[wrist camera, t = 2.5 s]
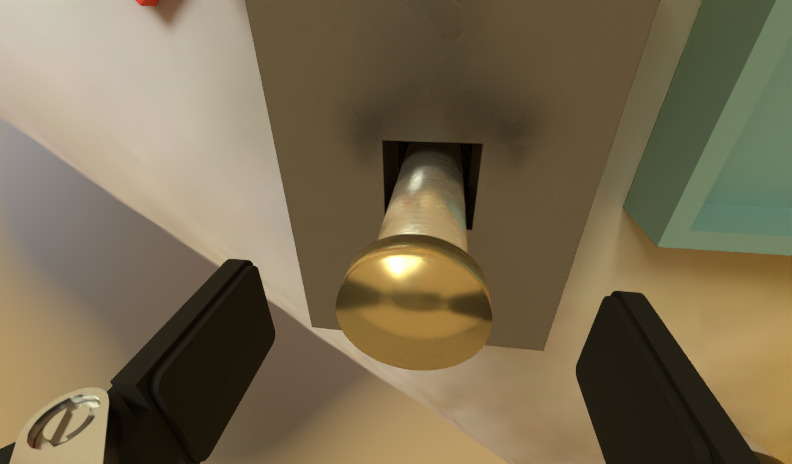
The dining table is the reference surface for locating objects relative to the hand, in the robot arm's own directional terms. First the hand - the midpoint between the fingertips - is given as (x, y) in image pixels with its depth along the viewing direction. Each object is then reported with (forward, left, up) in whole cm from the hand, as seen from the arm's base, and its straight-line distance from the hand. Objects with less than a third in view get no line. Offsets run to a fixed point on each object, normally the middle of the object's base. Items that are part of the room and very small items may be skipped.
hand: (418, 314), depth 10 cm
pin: (0, 0, -12) cm, 12 cm away
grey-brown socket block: (0, 0, -12) cm, 12 cm away
